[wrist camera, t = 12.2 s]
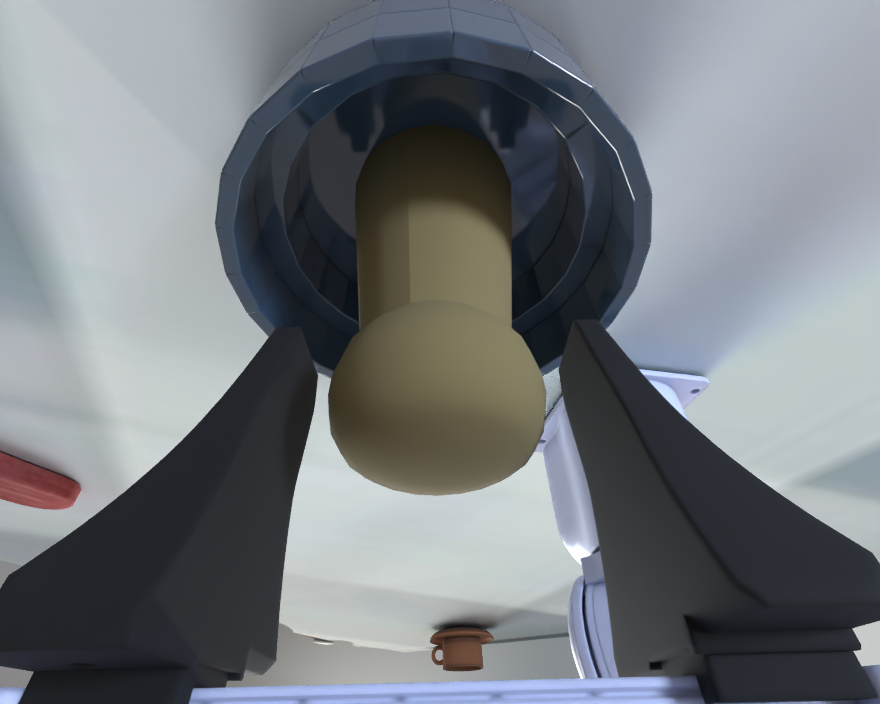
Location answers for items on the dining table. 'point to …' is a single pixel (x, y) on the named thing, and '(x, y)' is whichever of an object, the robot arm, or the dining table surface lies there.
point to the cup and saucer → (460, 648)
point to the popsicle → (35, 485)
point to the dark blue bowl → (420, 104)
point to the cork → (435, 323)
